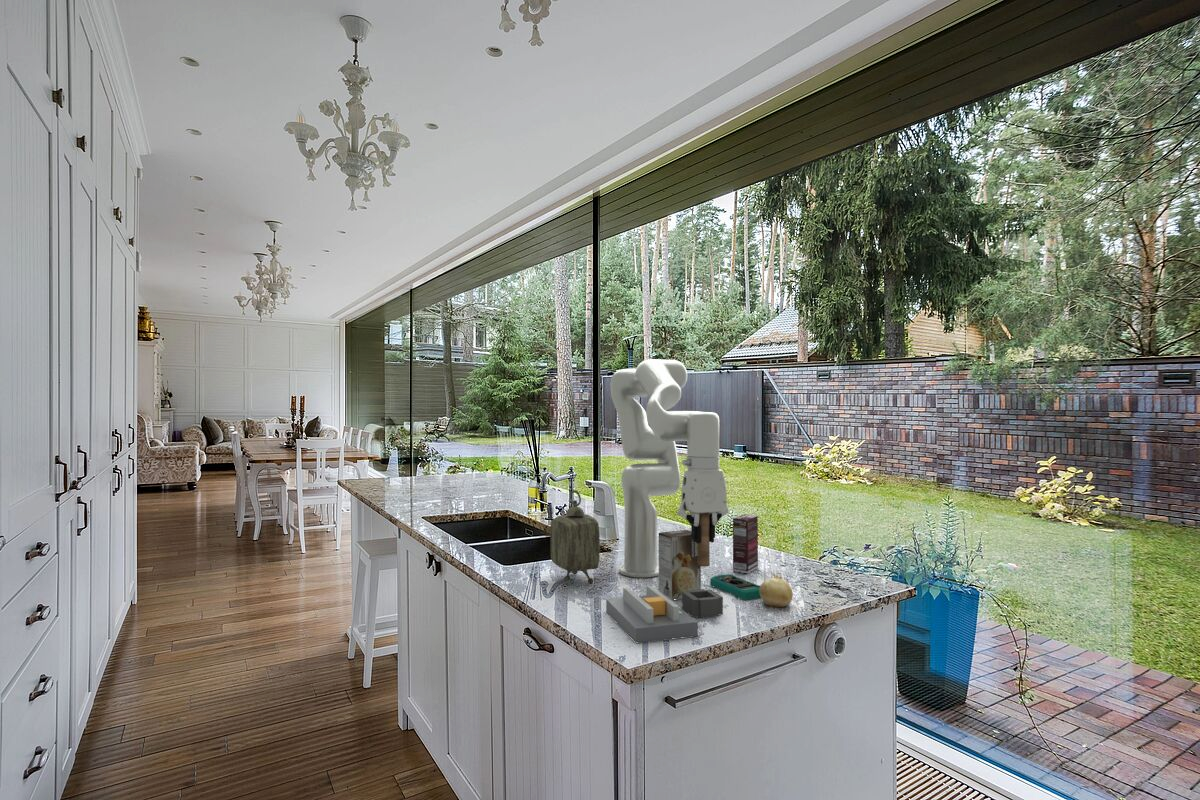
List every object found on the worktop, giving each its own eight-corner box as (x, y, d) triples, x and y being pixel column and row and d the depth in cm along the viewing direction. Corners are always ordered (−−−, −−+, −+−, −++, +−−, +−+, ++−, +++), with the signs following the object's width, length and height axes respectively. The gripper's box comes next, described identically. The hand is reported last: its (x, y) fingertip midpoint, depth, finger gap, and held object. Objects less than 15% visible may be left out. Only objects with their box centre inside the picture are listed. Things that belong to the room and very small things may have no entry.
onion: (799, 608, 149) (799, 579, 149) (770, 611, 147) (770, 581, 147) (780, 598, 157) (780, 570, 157) (753, 600, 155) (753, 572, 155)
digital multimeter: (729, 583, 171) (729, 572, 171) (766, 598, 158) (766, 586, 158) (708, 586, 168) (708, 575, 168) (744, 602, 155) (744, 590, 155)
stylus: (695, 564, 147) (695, 505, 147) (706, 563, 148) (706, 504, 148) (700, 566, 144) (700, 506, 144) (711, 566, 145) (711, 506, 145)
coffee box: (686, 589, 164) (687, 528, 164) (701, 596, 158) (701, 533, 158) (657, 594, 159) (658, 532, 159) (671, 601, 154) (672, 536, 154)
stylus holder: (680, 607, 149) (680, 591, 149) (709, 605, 151) (709, 588, 151) (694, 618, 141) (694, 600, 141) (724, 615, 144) (724, 598, 144)
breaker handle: (643, 611, 136) (643, 598, 136) (660, 610, 137) (660, 596, 137) (648, 616, 133) (648, 602, 133) (665, 614, 134) (665, 600, 135)
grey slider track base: (606, 611, 145) (606, 586, 146) (661, 606, 150) (661, 581, 150) (635, 643, 126) (635, 613, 126) (697, 636, 130) (697, 607, 130)
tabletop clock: (599, 585, 167) (600, 493, 167) (568, 589, 163) (569, 494, 163) (577, 572, 180) (578, 486, 180) (548, 575, 176) (549, 488, 176)
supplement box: (743, 565, 188) (743, 513, 188) (758, 568, 185) (758, 515, 186) (731, 571, 181) (732, 517, 181) (747, 574, 178) (747, 519, 179)
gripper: (678, 466, 140) (678, 547, 140) (741, 464, 145) (741, 543, 145) (665, 463, 148) (665, 540, 147) (726, 462, 152) (726, 536, 152)
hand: (703, 541), depth 146 cm, fingers closed on stylus, 2 cm apart
